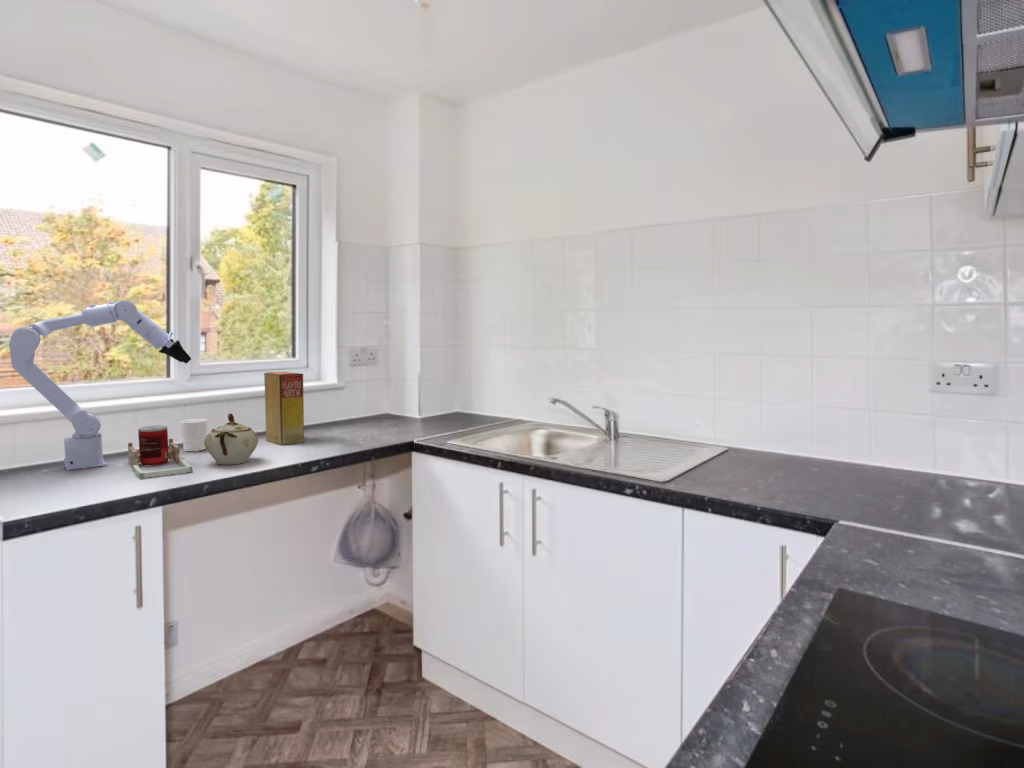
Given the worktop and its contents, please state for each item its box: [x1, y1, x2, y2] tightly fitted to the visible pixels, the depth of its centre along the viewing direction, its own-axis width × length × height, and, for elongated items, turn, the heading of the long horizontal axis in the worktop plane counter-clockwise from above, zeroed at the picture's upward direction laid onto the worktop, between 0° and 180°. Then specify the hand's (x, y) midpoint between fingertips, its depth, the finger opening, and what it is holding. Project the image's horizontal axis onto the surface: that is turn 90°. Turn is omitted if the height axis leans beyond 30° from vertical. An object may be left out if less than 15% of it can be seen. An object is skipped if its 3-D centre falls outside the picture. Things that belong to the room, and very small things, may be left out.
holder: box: [127, 438, 181, 467], centre depth 186 cm, size 12×11×6 cm
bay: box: [132, 458, 194, 479], centre depth 175 cm, size 13×13×2 cm
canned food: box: [137, 424, 170, 466], centre depth 185 cm, size 8×8×11 cm
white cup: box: [180, 418, 208, 452], centre depth 205 cm, size 8×8×10 cm
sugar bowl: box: [204, 413, 259, 466], centre depth 187 cm, size 20×15×15 cm
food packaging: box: [263, 371, 305, 446], centre depth 220 cm, size 13×9×25 cm
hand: (186, 360), depth 197 cm, fingers open, 7 cm apart
